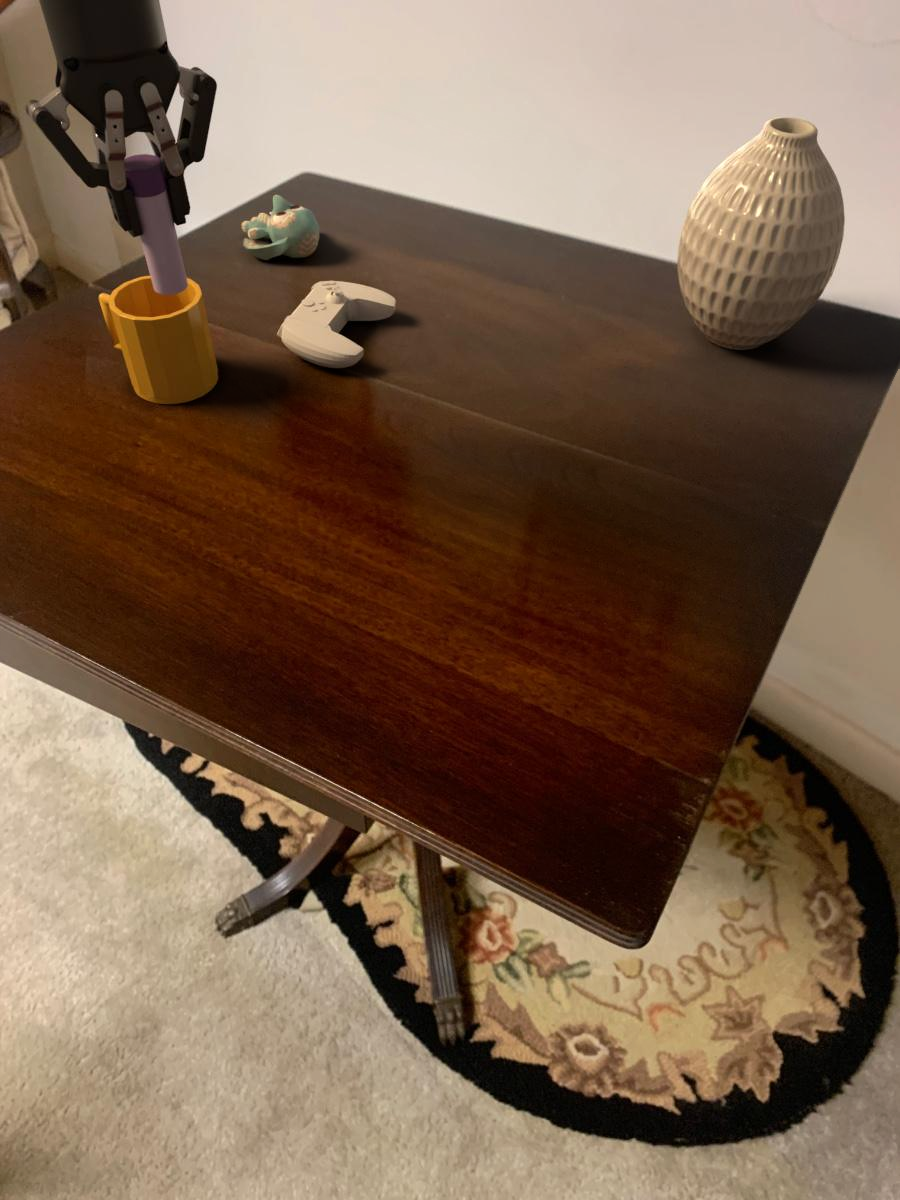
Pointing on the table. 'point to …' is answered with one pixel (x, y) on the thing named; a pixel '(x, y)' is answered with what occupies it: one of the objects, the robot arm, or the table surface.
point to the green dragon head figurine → (282, 231)
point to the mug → (162, 340)
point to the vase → (761, 237)
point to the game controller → (333, 322)
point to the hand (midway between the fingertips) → (155, 225)
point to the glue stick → (156, 223)
